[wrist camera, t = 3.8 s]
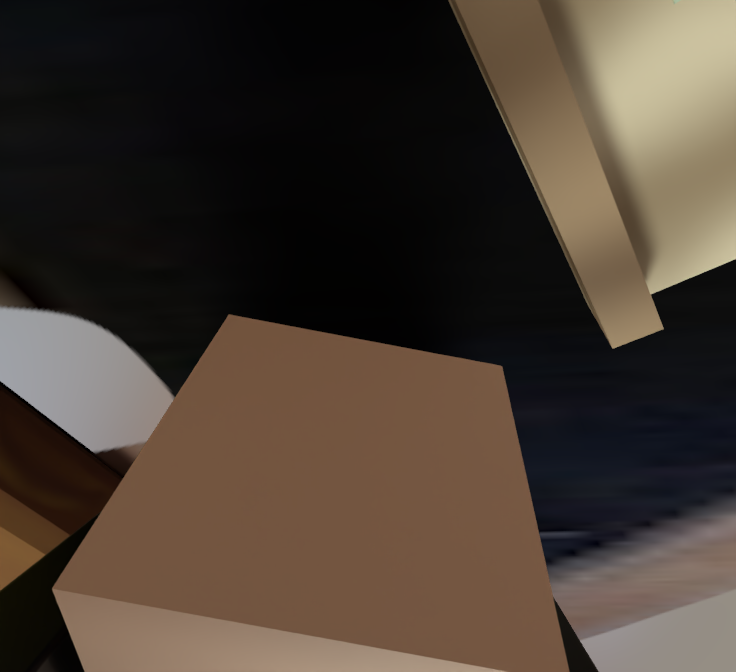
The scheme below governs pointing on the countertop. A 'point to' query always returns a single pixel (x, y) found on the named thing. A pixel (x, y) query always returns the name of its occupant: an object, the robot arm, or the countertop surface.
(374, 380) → the cube
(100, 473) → the diary
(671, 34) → the arena
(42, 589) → the robot arm
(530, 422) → the countertop surface
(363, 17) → the countertop surface
